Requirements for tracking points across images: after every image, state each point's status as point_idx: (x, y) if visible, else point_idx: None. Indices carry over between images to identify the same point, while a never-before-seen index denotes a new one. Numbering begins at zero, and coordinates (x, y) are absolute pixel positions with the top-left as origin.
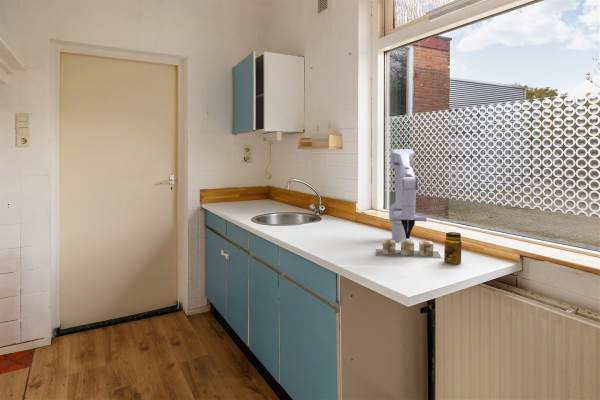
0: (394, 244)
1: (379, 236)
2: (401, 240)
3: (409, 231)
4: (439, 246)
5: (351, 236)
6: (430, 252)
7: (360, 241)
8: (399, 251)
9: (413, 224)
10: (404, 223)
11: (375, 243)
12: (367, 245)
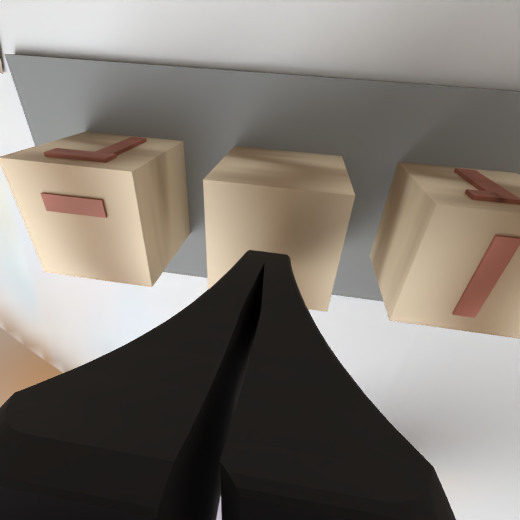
0: (440, 198)
1: None
2: (323, 306)
3: (225, 302)
4: (88, 360)
5: (497, 517)
6: (86, 140)
7: (494, 460)
8: None
9: (33, 398)
10: (368, 491)
11: (420, 427)
12: (493, 403)
